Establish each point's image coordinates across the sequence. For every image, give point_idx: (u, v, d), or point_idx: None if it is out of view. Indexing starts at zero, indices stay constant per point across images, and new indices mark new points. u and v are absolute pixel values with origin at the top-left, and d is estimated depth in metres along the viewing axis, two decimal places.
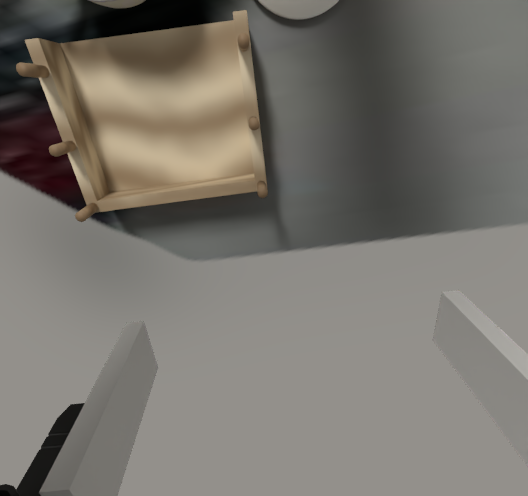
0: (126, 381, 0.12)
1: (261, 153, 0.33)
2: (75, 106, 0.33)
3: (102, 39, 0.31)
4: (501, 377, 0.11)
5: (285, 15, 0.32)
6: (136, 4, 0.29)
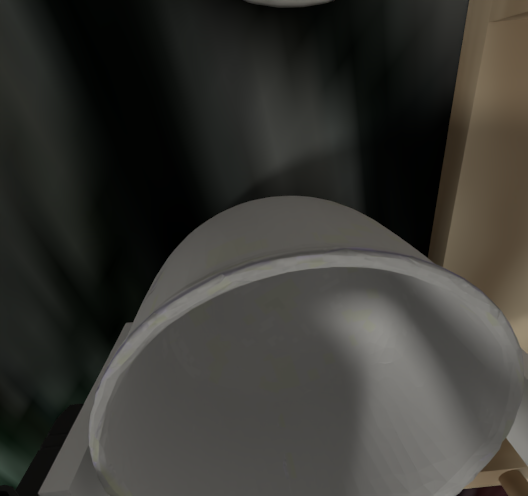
0: None
1: None
2: None
3: None
4: None
5: None
6: None
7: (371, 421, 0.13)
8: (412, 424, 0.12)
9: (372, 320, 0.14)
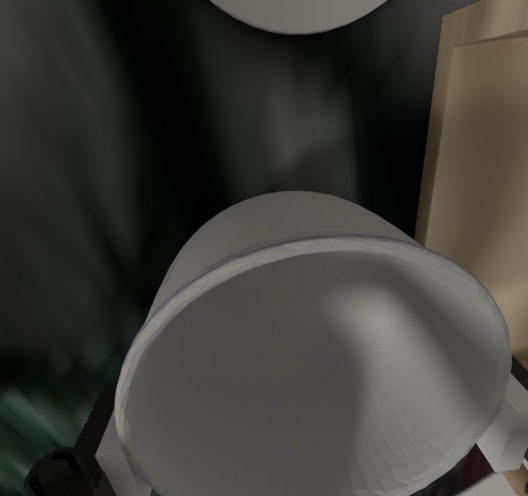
0: None
1: None
2: None
3: None
4: None
5: None
6: None
7: (372, 405, 0.13)
8: (410, 405, 0.12)
9: (372, 310, 0.15)
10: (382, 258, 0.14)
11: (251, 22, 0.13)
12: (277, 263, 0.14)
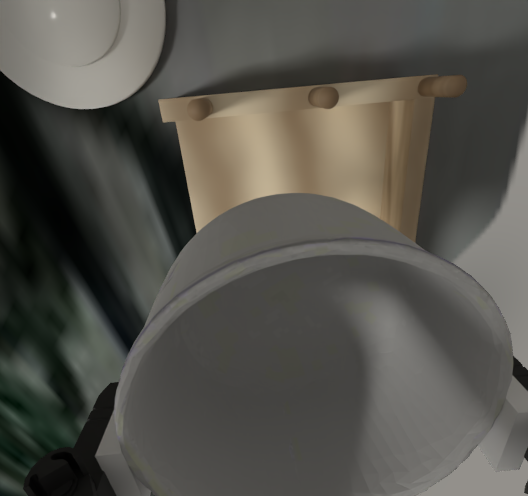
0: None
1: (370, 84, 0.19)
2: None
3: None
4: None
5: (161, 29, 0.20)
6: None
7: (372, 407, 0.13)
8: (411, 408, 0.12)
9: (373, 312, 0.15)
10: (382, 260, 0.14)
11: (56, 104, 0.22)
12: (277, 265, 0.14)
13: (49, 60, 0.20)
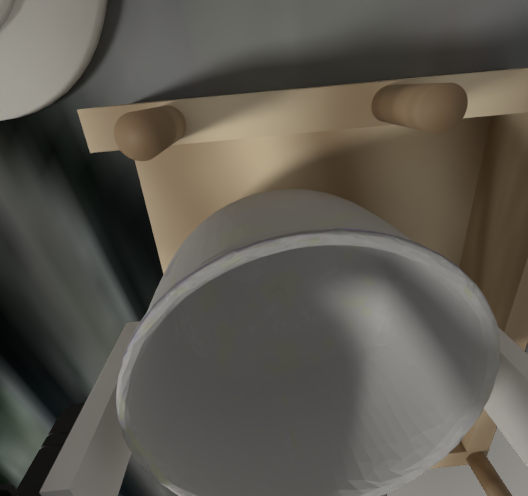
0: None
1: (495, 78, 0.09)
2: None
3: None
4: (501, 377, 0.11)
5: None
6: None
7: (367, 399, 0.14)
8: (404, 398, 0.12)
9: (368, 306, 0.15)
10: (377, 255, 0.14)
11: None
12: (275, 260, 0.15)
13: None
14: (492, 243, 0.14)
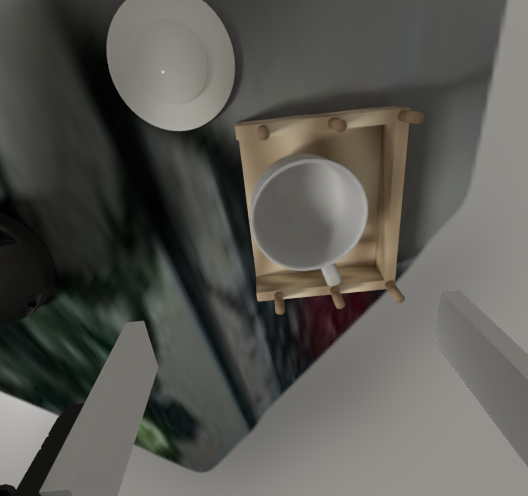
0: (126, 381, 0.12)
1: (367, 114, 0.29)
2: (301, 277, 0.40)
3: (253, 247, 0.39)
4: (501, 377, 0.11)
5: (233, 80, 0.32)
6: None
7: (333, 240, 0.34)
8: (346, 234, 0.33)
9: (335, 207, 0.35)
10: (337, 182, 0.34)
11: None
12: (295, 186, 0.35)
13: (162, 101, 0.32)
14: (385, 177, 0.34)
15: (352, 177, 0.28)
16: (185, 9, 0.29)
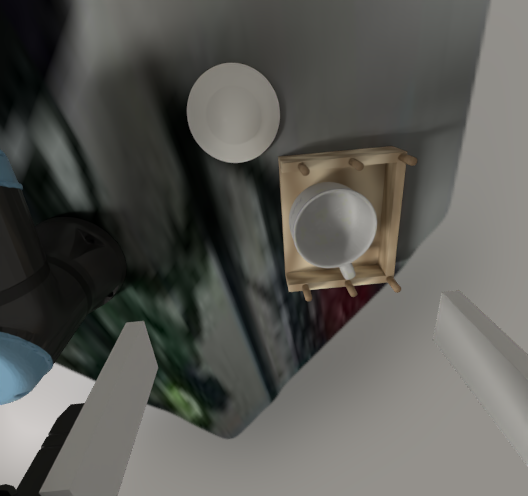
0: (126, 381, 0.12)
1: (376, 156, 0.41)
2: (321, 273, 0.51)
3: (285, 250, 0.50)
4: (501, 377, 0.11)
5: (277, 127, 0.43)
6: None
7: (349, 245, 0.45)
8: (359, 241, 0.44)
9: (350, 220, 0.47)
10: (352, 202, 0.46)
11: (222, 160, 0.44)
12: (320, 204, 0.46)
13: (225, 142, 0.43)
14: (387, 198, 0.46)
15: (366, 201, 0.40)
16: (247, 79, 0.40)
